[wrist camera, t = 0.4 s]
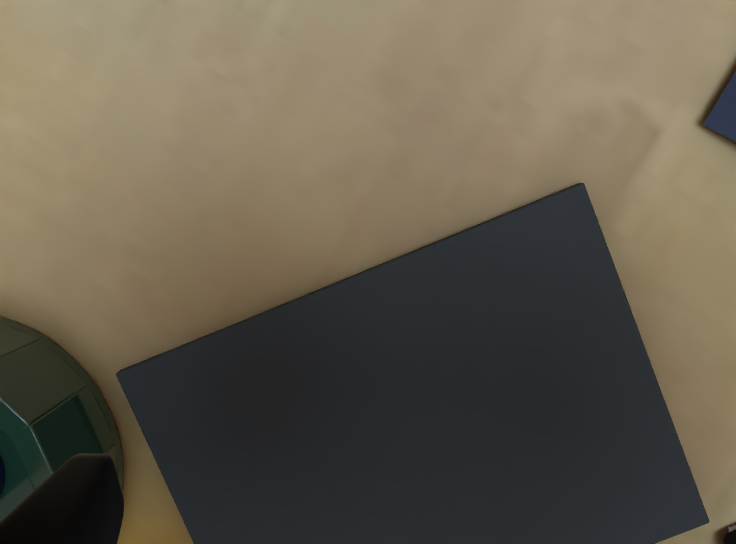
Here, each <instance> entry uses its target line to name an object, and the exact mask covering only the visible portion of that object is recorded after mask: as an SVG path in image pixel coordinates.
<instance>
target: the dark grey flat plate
mask: <svg viewBox="0 0 736 544" xmlns="http://www.w3.org/2000/svg"><path fill="white" fill-rule="evenodd" d="M116 376H117V378H118V380H119V382H120V384H121V386H122V389H123V391H124V393H125V395H126V397H127V399H128V402H129V404H130V406H131V408H132V410H133V412H134V415H135V417H136V419H137V421H138V423H139V425H140V427H141V430H142V432H143V434H144V436H145V438H146V440H147V443H148V445H149V447H150V449H151V451H152V453H153V456H154V458H155V460H156V462H157V464H158V466H159V469H160V471H161V473H162V475H163V477H164V479H165V482H166V484H167V486H168V488H169V490H170V492H171V495H172V497H173V499H174V501H175V503H176V505H177V508H178V510H179V512H180V514H181V516H182V518H183V521H184V523H185V525H186V527H187V529H188V531H189V534H190V536H191V538H192V540H193V542H194V544H655V543H657V542H660V541H663V540H665V539H668V538H670V537H673V536H676V535H678V534H681V533H683V532H686V531H688V530H691V529H694V528H696V527H699V526H701V525H704V524H707V523H709V519H708V516H707V514H706V511H705V508H704V506H703V503H702V500H701V498H700V495H699V492H698V490H697V487H696V484H695V481H694V479H693V476H692V473H691V471H690V468H689V465H688V463H687V460H686V457H685V455H684V452H683V449H682V446H681V444H680V441H679V438H678V436H677V433H676V430H675V428H674V425H673V422H672V419H671V417H670V414H669V411H668V409H667V406H666V403H665V401H664V398H663V395H662V393H661V390H660V387H659V384H658V382H657V379H656V376H655V374H654V371H653V368H652V366H651V363H650V360H649V358H648V355H647V352H646V349H645V347H644V344H643V341H642V339H641V336H640V333H639V331H638V328H637V325H636V323H635V320H634V317H633V314H632V312H631V309H630V306H629V304H628V301H627V298H626V296H625V293H624V290H623V288H622V285H621V282H620V279H619V277H618V274H617V271H616V269H615V266H614V263H613V261H612V258H611V255H610V253H609V250H608V247H607V244H606V242H605V239H604V236H603V234H602V231H601V228H600V226H599V223H598V220H597V217H596V215H595V212H594V209H593V207H592V204H591V201H590V199H589V196H588V193H587V191H586V188H585V185H584V184H583V183H579V184H576V185H574V186H572V187H569V188H567V189H564V190H562V191H559V192H557V193H554V194H552V195H549V196H547V197H545V198H542V199H540V200H537V201H535V202H532V203H530V204H527V205H525V206H523V207H520V208H518V209H515V210H513V211H510V212H508V213H505V214H503V215H500V216H498V217H496V218H493V219H491V220H488V221H486V222H483V223H481V224H478V225H476V226H473V227H471V228H469V229H466V230H464V231H461V232H459V233H456V234H454V235H451V236H449V237H446V238H444V239H442V240H439V241H437V242H434V243H432V244H429V245H427V246H424V247H422V248H419V249H417V250H415V251H412V252H410V253H407V254H405V255H402V256H400V257H397V258H395V259H393V260H390V261H388V262H385V263H383V264H380V265H378V266H375V267H373V268H370V269H368V270H366V271H363V272H361V273H358V274H356V275H353V276H351V277H348V278H346V279H343V280H341V281H339V282H336V283H334V284H331V285H329V286H326V287H324V288H321V289H319V290H316V291H314V292H312V293H309V294H307V295H304V296H302V297H299V298H297V299H294V300H292V301H290V302H287V303H285V304H282V305H280V306H277V307H275V308H272V309H270V310H267V311H265V312H263V313H260V314H258V315H255V316H253V317H250V318H248V319H245V320H243V321H240V322H238V323H236V324H233V325H231V326H228V327H226V328H223V329H221V330H218V331H216V332H213V333H211V334H209V335H206V336H204V337H201V338H199V339H196V340H194V341H191V342H189V343H186V344H184V345H182V346H179V347H177V348H174V349H172V350H169V351H167V352H164V353H162V354H160V355H157V356H155V357H152V358H150V359H147V360H145V361H142V362H140V363H137V364H135V365H133V366H130V367H128V368H125V369H123V370H120V371H119V372H118V373H116Z"/></svg>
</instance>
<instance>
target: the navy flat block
mask: <svg viewBox="0 0 736 544" xmlns="http://www.w3.org/2000/svg"><path fill="white" fill-rule="evenodd" d="M703 125H705V126H707V127H709V128H711V129H712V130H714V131H716V132H718V133H720V134H722V135H724V136H725V137H727V138H729V139H731V140H733V141H735V142H736V71H735V73H734V75H733V76H732V78H731V80H730V81H729V83H728V85H727V86H726V88H725V90H724V91H723V93H722V94H721V96H720V98H719V99H718V101H717V103H716V104H715V106H714V108H713V109H712V111H711V113H710V114H709V116H708V117H707V119H706V121H705V122H704V124H703Z"/></svg>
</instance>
